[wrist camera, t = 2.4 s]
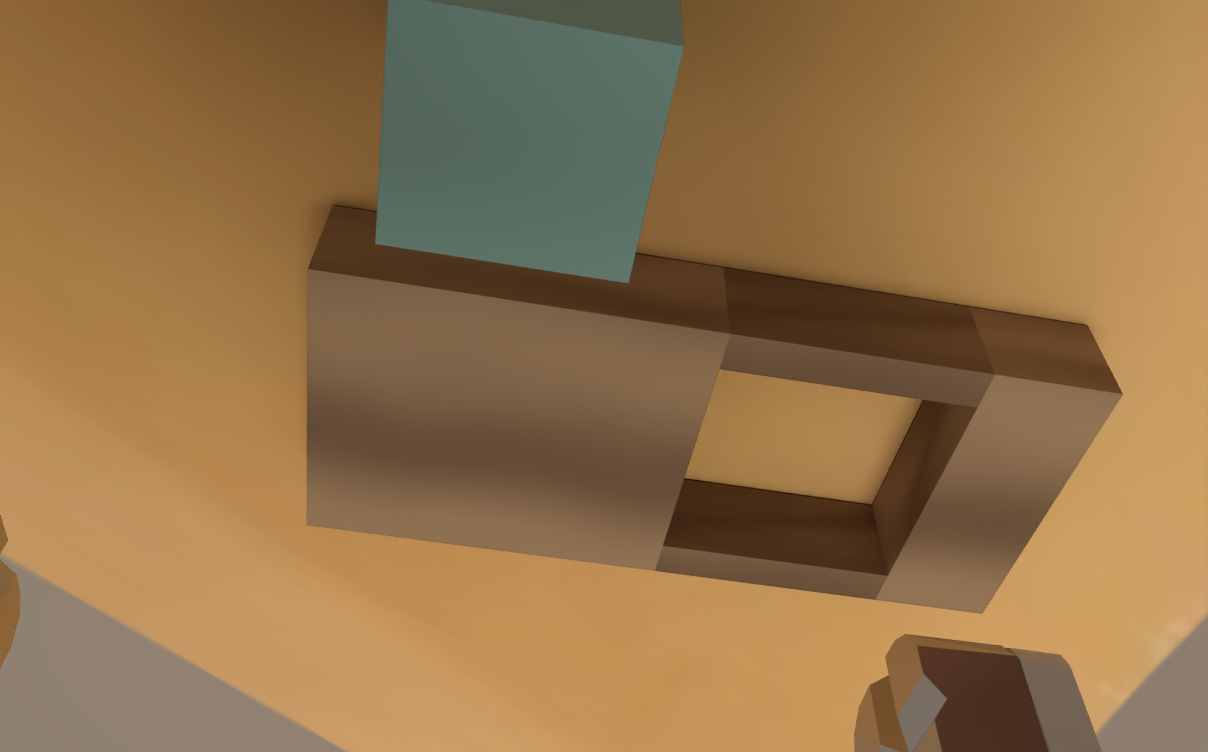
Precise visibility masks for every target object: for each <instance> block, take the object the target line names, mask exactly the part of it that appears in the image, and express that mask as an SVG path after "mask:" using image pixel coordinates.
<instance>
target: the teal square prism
mask: <svg viewBox="0 0 1208 752" xmlns="http://www.w3.org/2000/svg"><path fill="white" fill-rule="evenodd" d="M683 49H684V41H683V30H682V18H681V7H680V0H388V9H387V28H386V47H385V67H384V86H383V105H382V124H381V144H380V163H379V182H378V201H377V221H376V240H375V244H380V245H386V246H392V247H399V248H405V249H412V250H418V251H424V252H431V253H437V254H444V255H450V256H457V257H463V258H469V259H476V260H482V261H489V262H495V263H501V264H508V265H514V266H521V267H527V268H533V269H540V270H546V271H553V272H559V273H565V274H572V275H578V276H585V277H591V278H597V279H604V280H610V281H617V282H623V283H629V279H630V274H631V270H632V266H633V262H634V257H635V253H636V249H637V245H638V240H639V236H640V232H641V228H642V223H643V219H644V215H645V211H646V206H647V202H648V198H649V193H650V189H651V185H652V181H653V176H654V172H655V168H656V164H657V159H658V155H659V151H660V147H661V142H662V138H663V134H664V130H665V125H666V121H667V117H668V113H669V108H670V104H671V100H672V96H673V91H674V87H675V83H676V78H677V74H678V70H679V66H680V61H681V57H682V53H683Z"/></svg>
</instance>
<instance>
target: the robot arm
mask: <svg viewBox="0 0 1208 752" xmlns="http://www.w3.org/2000/svg"><path fill="white" fill-rule="evenodd" d="M7 541H8V538H7V535H6V532H5V528H4V525H3V522H2V519H1V515H0V554H1V552H2V550H3V548H4V547H5V545H6V543H7ZM19 616H20V589H19V584H18V580H17V575H16V573H15V572H13V571H12V570H11V569H10V568H9V567H8V566H6V565H5V564H4V563H3V562H2V561H1V560H0V668H1V666H2V664H3V662H4V660H5V658H6V656H7V654H8V652H9V650H10V648H11V645H12V641H13V638H14V634H15V630H16V627H17V624H18V620H19ZM885 658H886V663H887V668H888V673H889V675H888V676H886V677H884V678H882V679H880V680H879V681H877V682H875V683H873V684H871V685H869V687H868V689H867V691H866V694H865V696H864V698H863V700H862V702H861V704H860V706H859V710H858V715H857V721H856V727H855V732H854V747H855V752H1102V750H1101V748H1100V745H1099V743H1098V740H1097V737H1096V734H1095V731H1094V729H1093V726H1092V723H1091V721H1090V718H1089V715H1088V713H1087V710H1086V707H1085V705H1084V702H1083V699H1082V696H1081V694H1080V691H1079V688H1078V686H1077V683H1076V680H1075V678H1074V675H1073V672H1072V670H1071V667H1070V665H1069V664H1068V663H1067V661H1066V660H1065V659H1064V658H1063V657H1062V656H1061V655H1058V654H1051V653H1044V652H1036V651H1029V650H1021V649H1014V648H1004V647H1003V646H1000V645H991V644H983V643H975V642H967V641H958V640H950V639H942V638H934V637H925V636H917V635H909V634H904V635H903V636H901V637H900V638H898V639H896V640H895V641H894V643H893V644H892V646H891V648H890V650H889V651H888V653H887V655H886V657H885Z"/></svg>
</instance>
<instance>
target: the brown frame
mask: <svg viewBox="0 0 1208 752" xmlns="http://www.w3.org/2000/svg"><path fill="white" fill-rule="evenodd" d="M376 221H377V212H371V211H365V210H359V209H353V208H346V207H340V206H334V205H333V206H332V209H331V211H330V214H329V216H328V219H327V221H326V224H325V226H324V229H323V232H322V234H321V237H320V239H319V242H318V244H317V247H316V249H315V252H314V254H313V257H312V260H311V262H310V265H309V267H308V338H307V525H309V526H317V527H325V528H332V529H340V530H348V531H355V532H363V533H370V534H378V535H386V536H393V537H401V538H409V539H416V540H424V541H431V542H439V543H447V544H454V545H462V546H469V547H477V548H485V549H492V550H500V551H508V552H515V553H523V554H530V555H538V556H546V557H553V558H561V559H569V560H576V561H584V562H591V563H599V564H607V565H614V566H622V567H629V568H637V569H645V570H652V571H660V572H668V573H675V574H683V575H690V576H698V577H706V578H713V579H721V580H729V581H736V582H744V583H751V584H759V585H767V586H774V587H782V588H789V589H797V590H805V591H812V592H820V593H828V594H835V595H843V596H850V597H858V598H866V599H873V600H881V601H889V602H896V603H904V604H911V605H919V606H927V607H934V608H942V609H949V610H957V611H965V612H972V613H980V614H982V613H983V612H984V610H985V609H986V607H987V606H988V604H989V602H990V601H991V599H992V598H993V596H994V595H995V593H996V592H997V590H998V588H999V587H1000V585H1001V584H1002V582H1003V581H1004V579H1005V577H1006V576H1007V574H1008V573H1009V571H1010V570H1011V568H1012V567H1013V565H1014V563H1015V562H1016V560H1017V559H1018V557H1019V556H1020V554H1021V553H1022V551H1023V549H1024V548H1025V546H1026V545H1027V543H1028V542H1029V540H1030V538H1031V537H1032V535H1033V534H1034V532H1035V531H1036V529H1037V528H1038V526H1039V524H1040V523H1041V521H1042V520H1043V518H1044V517H1045V515H1046V514H1047V512H1048V510H1049V509H1050V507H1051V506H1052V504H1053V503H1054V501H1055V499H1056V498H1057V496H1058V495H1059V493H1060V492H1061V490H1062V489H1063V487H1064V485H1065V484H1066V482H1067V481H1068V479H1069V478H1070V476H1071V475H1072V473H1073V471H1074V470H1075V468H1076V467H1077V465H1078V464H1079V462H1080V460H1081V459H1082V457H1083V456H1084V454H1085V453H1086V451H1087V450H1088V448H1089V446H1090V445H1091V443H1092V442H1093V440H1094V439H1095V437H1096V436H1097V434H1098V432H1099V431H1100V429H1101V428H1102V426H1103V425H1104V423H1105V421H1106V420H1107V418H1108V417H1109V415H1110V414H1111V412H1112V411H1113V409H1114V407H1115V406H1116V404H1117V403H1118V401H1119V400H1120V398H1121V397H1122V395H1123V393H1122V391H1121V389H1120V388H1119V386H1118V384H1117V382H1116V380H1115V378H1114V376H1113V374H1112V372H1111V370H1110V368H1109V366H1108V364H1107V362H1106V360H1105V358H1104V356H1103V354H1102V352H1101V351H1100V349H1099V347H1098V345H1097V343H1096V341H1095V339H1094V337H1093V335H1092V333H1091V331H1090V329H1089V327H1088V326H1086V325H1080V324H1073V323H1067V322H1061V321H1055V320H1048V319H1042V318H1036V317H1029V316H1023V315H1017V314H1011V313H1004V312H998V311H992V310H986V309H979V308H973V307H967V306H961V305H954V304H948V303H942V302H935V301H929V300H923V299H917V298H910V297H904V296H898V295H892V294H885V293H879V292H873V291H867V290H860V289H854V288H848V287H841V286H835V285H829V284H823V283H816V282H810V281H804V280H798V279H791V278H785V277H779V276H773V275H766V274H760V273H754V272H747V271H741V270H735V269H729V268H722V267H716V266H710V265H704V264H697V263H691V262H685V261H679V260H672V259H666V258H660V257H653V256H647V255H641V254H635V257H634V262H633V266H632V270H631V274H630V279H629V283H623V282H617V281H610V280H604V279H597V278H591V277H585V276H578V275H572V274H565V273H559V272H553V271H546V270H540V269H533V268H527V267H521V266H514V265H508V264H501V263H495V262H489V261H482V260H476V259H469V258H463V257H457V256H450V255H444V254H437V253H431V252H424V251H418V250H412V249H405V248H399V247H392V246H386V245H380V244H375V240H376ZM719 369H723V370H729V371H736V372H743V373H749V374H756V375H763V376H769V377H776V378H783V379H789V380H796V381H803V382H809V383H816V384H823V385H829V386H836V387H843V388H849V389H856V390H862V391H869V392H876V393H882V394H889V395H896V396H902V397H909V398H916V399H922V400H923V402H922V404H921V406H920V408H919V410H918V412H917V414H916V417H915V419H914V421H913V423H912V425H911V427H910V429H909V431H908V433H907V435H906V437H905V439H904V441H903V443H902V445H901V447H900V449H899V451H898V453H897V455H896V458H895V460H894V462H893V464H892V466H891V468H890V470H889V472H888V474H887V476H886V478H885V480H884V482H883V484H882V486H881V488H880V490H879V492H878V494H877V496H876V499H875V501H874V503H873V505H865V504H858V503H850V502H843V501H836V500H829V499H822V498H815V497H807V496H800V495H793V494H786V493H779V492H772V491H765V490H757V489H750V488H743V487H736V486H729V485H722V484H715V483H707V482H700V481H693V480H686V479H684V478H685V475H686V471H687V468H688V465H689V462H690V459H691V456H692V453H693V449H694V446H695V443H696V440H697V437H698V434H699V431H700V428H701V424H702V421H703V418H704V415H705V412H706V409H707V406H708V403H709V399H710V396H711V393H712V390H713V387H714V384H715V381H716V378H717V374H718V371H719Z"/></svg>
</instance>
